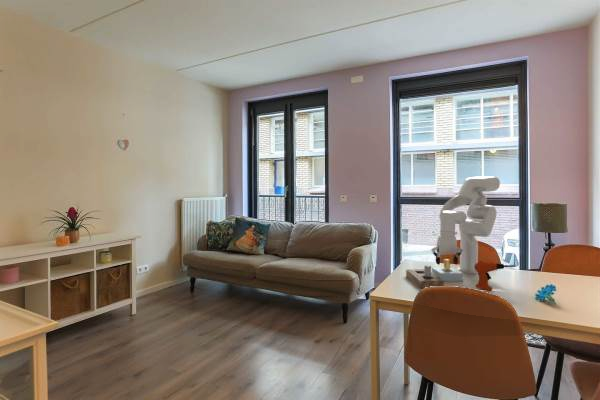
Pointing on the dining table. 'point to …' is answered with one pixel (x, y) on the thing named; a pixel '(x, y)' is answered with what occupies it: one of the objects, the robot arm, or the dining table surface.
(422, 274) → the bit rack
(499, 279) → the dining table surface
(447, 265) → the gold drill bit
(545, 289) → the blue flower bunch
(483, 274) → the toy drill
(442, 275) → the socket block
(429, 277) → the steel drill bit
